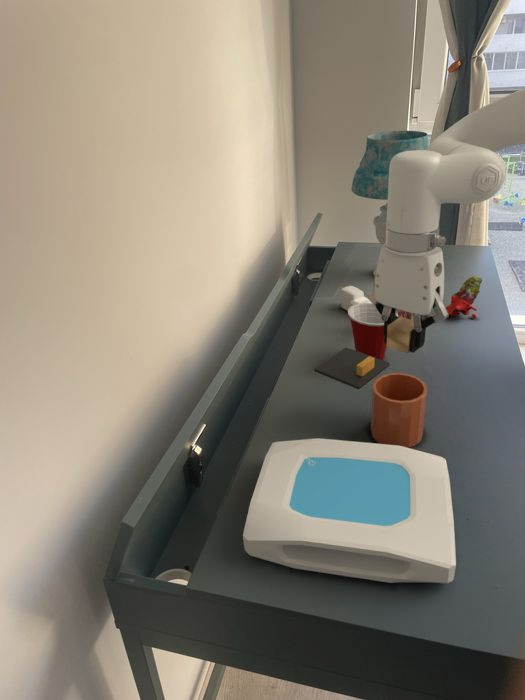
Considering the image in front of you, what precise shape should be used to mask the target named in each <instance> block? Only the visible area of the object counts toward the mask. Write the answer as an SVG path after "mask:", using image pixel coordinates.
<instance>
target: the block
mask: <svg viewBox="0 0 525 700" xmlns="http://www.w3.org/2000/svg"><path fill="white" fill-rule="evenodd" d="M413 329H414V320H413V319H411V320H410V319H406V318H403V317H399V318H398V319H396V320H395V321H393V322H392V323H391V324H389V325H388V329H387V348H390V349H393V350H396V351H399V352H402V353H405V354H409V353H411V352H410V350H409V349H410V337H411V331H412V330H413Z"/></svg>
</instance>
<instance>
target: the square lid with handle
mask: <svg viewBox="0 0 525 700" xmlns="http://www.w3.org/2000/svg"><path fill="white" fill-rule="evenodd" d="M389 366H390V362H388V361H385V360H384V359H383V360H380V359H377V358H375V357H372V356H369V355H366V354H363V353H361V352H358V351H356V349H355V350H354V349H353V348H349V347H346V346H345V347H343V348H342V349H341V350H339V351H338V352H337V353H334V354H333V355H332V356H331V357H329V358H328V359H325V360H324V361H323V362H322V363H320V364H318V365H317V366H316V367H313V371H314V372H315V373H318V374H320V375H322V376H324V377H326V378H329V379H332V380H335V381H337V382H340V383H342V384H344V385H347V386H348V387H352V388H353V389H355V390H360V389H362V388H363V387H364V386H365V385H367V384H368V383H369V382H371V381H372V380H373V379H374V378H376V377H377V376H378V375H380V374H381V373H382V372H383V371H385V370H386V369H387V368H389Z"/></svg>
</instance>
